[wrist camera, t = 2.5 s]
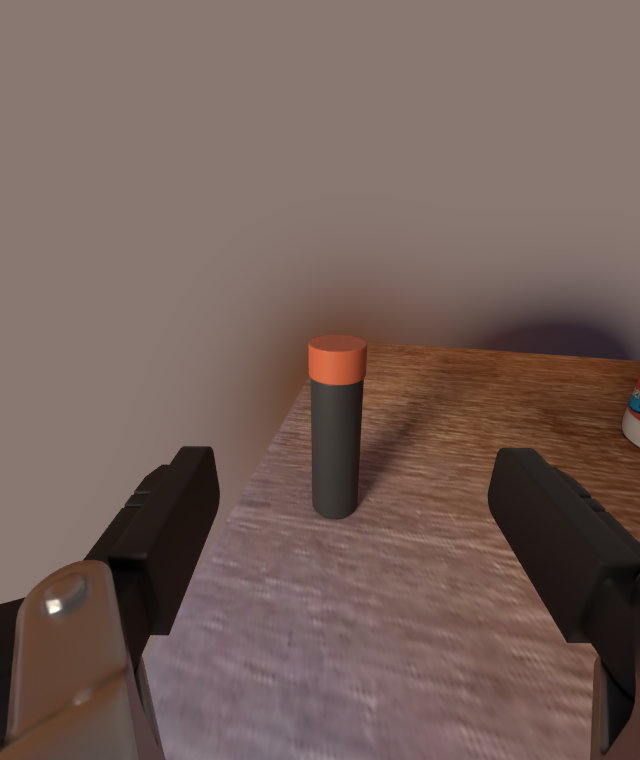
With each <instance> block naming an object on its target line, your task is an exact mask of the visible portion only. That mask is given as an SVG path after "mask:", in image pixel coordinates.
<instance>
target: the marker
mask: <svg viewBox="0 0 640 760" xmlns="http://www.w3.org/2000/svg"><path fill="white" fill-rule="evenodd" d="M308 350H309V375H310V377H311V435H312V500H313V507H314V509H315V510H316V511H317V512H318V513H319V514H320V515H322V516H324V517H326V518H330V519H341V518H345V517H347V516H349V515H351V514H352V513H353V512H354V511H355V509H356V507H357V496H358V477H359V459H360V440H361V421H362V402H363V383H364V377H365V375H366V359H367V342H366V341H365V340H363V339H361V338H358V337H355V336H350V335H324V336H320V337H316V338H313V339H311V340H310V341H309V343H308Z"/></svg>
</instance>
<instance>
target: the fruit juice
mask: <svg viewBox="0 0 640 760" xmlns="http://www.w3.org/2000/svg"><path fill="white" fill-rule="evenodd" d="M622 431H623V433H624V435H625V436H626V437H627V438H628V439H629V440H630V441H631V442H633V443H634V444H635V445H637V446H638V447H640V376H639V379H638V381H637V384H636V386H635V388H634V391H633V393H632V396H631V398H630V401H629V403H628V406H627V408H626V411H625V413H624V416H623V420H622Z"/></svg>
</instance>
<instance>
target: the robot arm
mask: <svg viewBox="0 0 640 760" xmlns="http://www.w3.org/2000/svg"><path fill="white" fill-rule="evenodd" d="M219 499H220V490H219V483H218V477H217V471H216V465H215V458H214V453H213V450H212V448H211V447H204V446H203V447H202V446H201V447H200V446H196V447H195V446H194V447H193V446H189V447H188V446H184V447H182V448H181V449H180V450H179V452H178V453H177V455H176V456H175V458H174V459H173V460H172V462H171V463H170V465H161V466H160V467H158V468H157V469H155V470H154V471H153V472H151V473H150V474H149V475H147V476H146V477H145V478H144V479H143V481H142V482H141V483H140V485H139V486H138V487H137V489H136V490H135V492H134V495H131V497H130V498H129V500H128V501H127V503H126V504H125V507H124V508H122V509H121V510H120V512H119V513H118V514H117V516H116V517H115V518H114V520H113V521H112V522H111V524H110V525H109V526H108V528H107V529H106V530H105V532H104V533H103V534H102V536H101V537H100V538H99V540H98V541H97V543H96V544H95V545H94V546H93V548H92V549H91V551H90V552H89V553H88V554H87V556H86V557H85V558H84V560H83V561H79V562H75V563H72V564H70V565H67V566H65V567H63V568H61V569H59V570H57V571H55V572H54V573H52V574H50V575H49V576H48V577H46V578H45V579H44V580H42V581H41V582H40V583H39V584H38V585H36V587H35V588H34V589H33V590H32V591H31V592H30V593H29V594H28V595H27V597H25V598H22V599H18V600H14V601H11V602H7V603H3V604H0V760H165V756H164V752H163V748H162V743H161V739H160V734H159V730H158V725H157V720H156V716H155V711H154V707H153V702H152V698H151V693H150V688H149V684H148V679H147V675H146V670H145V665H144V661H143V658H142V653H143V650H144V648H145V646H146V644H147V641H148V639H149V637H150V635H169V633H170V631H171V628H172V626H173V623H174V621H175V618H176V615H177V613H178V610H179V608H180V605H181V603H182V600H183V598H184V595H185V593H186V590H187V587H188V585H189V582H190V580H191V577H192V575H193V572H194V569H195V567H196V565H197V562H198V559H199V557H200V554H201V552H202V549H203V547H204V544H205V542H206V539H207V537H208V534H209V531H210V529H211V526H212V524H213V521H214V519H215V516H216V514H217V511H218V506H219ZM488 504H489V509H490V512H491V514H492V516H493V518H494V519H495V521H496V523H497V525H498V526H499V528H500V530H501V531H502V533H503V535H504V536H505V538H506V540H507V541H508V543H509V545H510V547H511V548H512V550H513V552H514V553H515V555H516V557H517V558H518V560H519V562H520V564H521V565H522V567H523V569H524V570H525V572H526V574H527V575H528V577H529V579H530V581H531V582H532V584H533V586H534V587H535V589H536V591H537V592H538V594H539V596H540V597H541V599H542V601H543V603H544V604H545V606H546V608H547V609H548V611H549V613H550V614H551V616H552V618H553V620H554V621H555V623H556V625H557V626H558V628H559V630H560V631H561V633H562V635H563V637H564V638H565V640H566V642H567V643H591V644H592V645H593V647H594V648H595V650H596V651H597V653H598V656H597V658H596V660H595V663H594V677H593V702H592V728H591V753H590V760H640V543H639V542H638V541H637V540H636V539H635V538H634V537H633V536H632V535H631V534H630V533H629V532H628V531H627V530H626V529H625V528H624V527H623V526H622V525H621V524H620V523H619V522H618V521H617V520H616V519H615V518H614V517H613V516H612V515H611V514H610V513H609V512H605V508H603V507H602V506H601V505H600V504H599V503H598V502H597V501H596V500H595V499H592V498H591V495H590V494H589V493H588V492H587V491H586V490H585V489H584V488H583V487H582V486H581V485H580V484H579V483H578V482H577V481H576V480H575V479H573V478H572V477H570V476H568V475H567V474H565V473H564V472H562V471H560V470H559V469H557V468H555V467H551V466H550V465H549V464H548V463H547V462H546V461H545V460H544V459H543V458H542V457H541V456H540V455H539V454H538V453H537V452H536V451H535V450H534V449H532V448H501V449H500V450H499V451H498V453H497V457H496V461H495V465H494V469H493V473H492V477H491V482H490V486H489V490H488Z"/></svg>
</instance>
